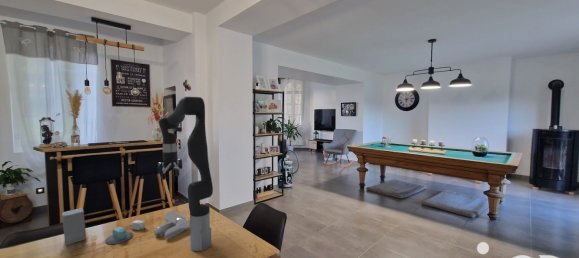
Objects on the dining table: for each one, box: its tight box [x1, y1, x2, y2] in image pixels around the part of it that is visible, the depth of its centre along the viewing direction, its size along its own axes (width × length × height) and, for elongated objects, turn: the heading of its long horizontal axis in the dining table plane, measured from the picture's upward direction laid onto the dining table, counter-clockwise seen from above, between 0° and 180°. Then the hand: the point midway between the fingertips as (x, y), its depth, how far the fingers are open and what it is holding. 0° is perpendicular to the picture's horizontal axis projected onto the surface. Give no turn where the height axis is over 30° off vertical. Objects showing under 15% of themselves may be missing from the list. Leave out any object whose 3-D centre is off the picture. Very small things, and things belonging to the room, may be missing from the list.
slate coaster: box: [104, 231, 134, 245], centre depth 128 cm, size 12×12×1 cm
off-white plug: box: [129, 219, 146, 231], centre depth 139 cm, size 9×3×4 cm, turn 80°
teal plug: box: [111, 226, 127, 241], centre depth 127 cm, size 10×4×4 cm, turn 60°
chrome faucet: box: [153, 210, 190, 240], centre depth 137 cm, size 18×7×20 cm
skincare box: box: [61, 207, 87, 246], centre depth 125 cm, size 8×7×16 cm
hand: (170, 177), depth 143 cm, fingers open, 8 cm apart
